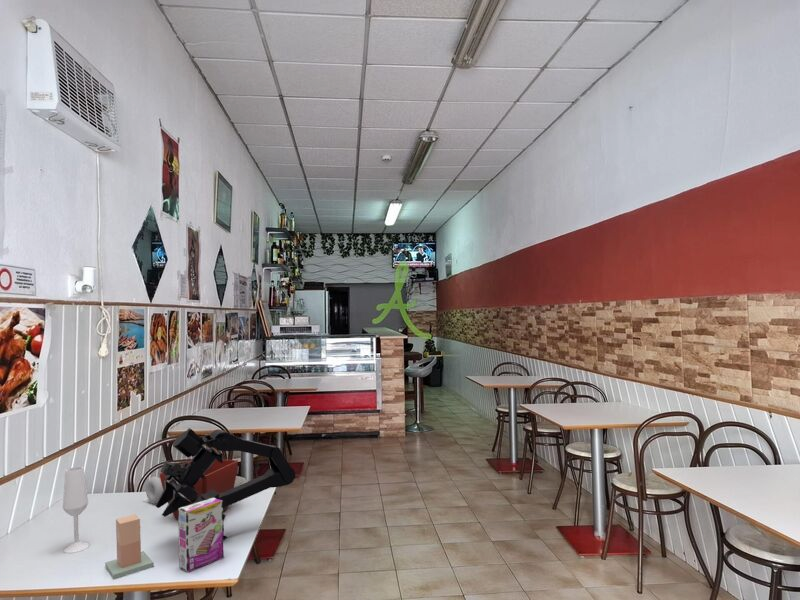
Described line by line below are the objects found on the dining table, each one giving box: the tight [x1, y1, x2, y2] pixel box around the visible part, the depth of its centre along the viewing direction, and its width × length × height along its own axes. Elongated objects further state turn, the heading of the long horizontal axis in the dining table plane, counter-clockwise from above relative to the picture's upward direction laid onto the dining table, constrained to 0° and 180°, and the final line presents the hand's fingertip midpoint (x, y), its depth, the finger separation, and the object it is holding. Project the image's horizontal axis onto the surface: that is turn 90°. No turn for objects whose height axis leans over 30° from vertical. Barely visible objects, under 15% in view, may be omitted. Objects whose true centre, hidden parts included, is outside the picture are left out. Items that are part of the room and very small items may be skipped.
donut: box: [145, 476, 164, 505], centre depth 201 cm, size 10×4×10 cm, turn 53°
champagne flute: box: [62, 466, 90, 554], centre depth 163 cm, size 7×7×24 cm
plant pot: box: [159, 459, 239, 521], centre depth 187 cm, size 19×19×17 cm
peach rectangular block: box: [115, 514, 142, 568], centre depth 149 cm, size 5×5×12 cm
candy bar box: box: [178, 498, 224, 573], centre depth 149 cm, size 11×5×16 cm, turn 141°
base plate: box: [104, 551, 155, 580], centre depth 148 cm, size 10×10×1 cm
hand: (160, 511), depth 155 cm, fingers open, 9 cm apart
